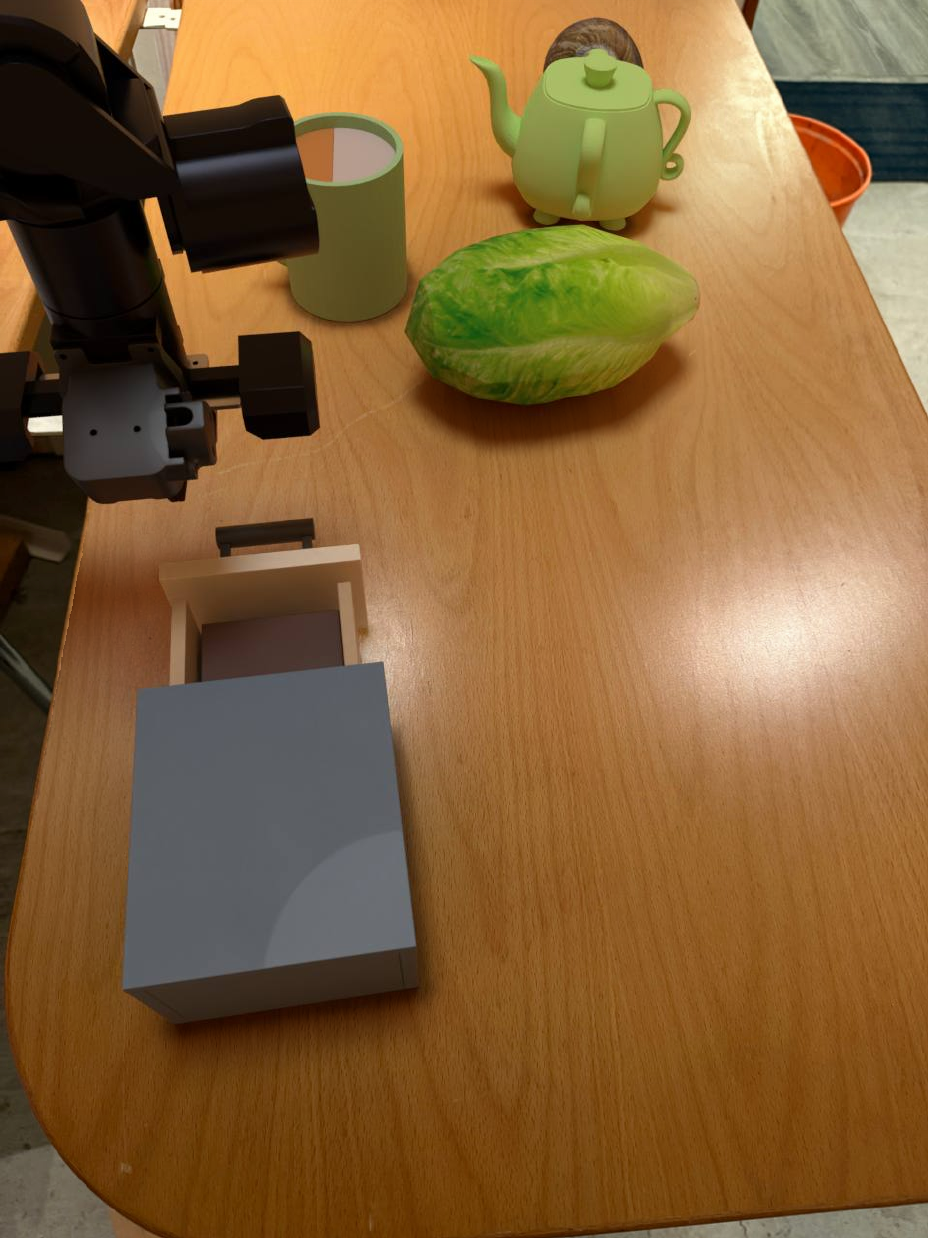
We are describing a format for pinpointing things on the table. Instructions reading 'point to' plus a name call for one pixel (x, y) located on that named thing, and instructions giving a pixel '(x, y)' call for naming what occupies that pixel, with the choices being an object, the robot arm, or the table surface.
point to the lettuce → (547, 313)
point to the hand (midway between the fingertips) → (178, 496)
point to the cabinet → (266, 846)
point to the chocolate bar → (271, 645)
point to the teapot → (587, 138)
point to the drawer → (261, 588)
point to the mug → (352, 217)
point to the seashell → (594, 42)
